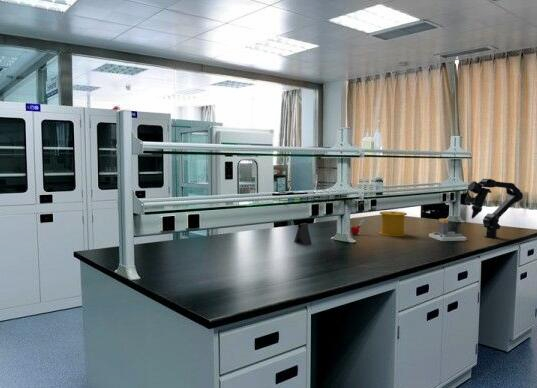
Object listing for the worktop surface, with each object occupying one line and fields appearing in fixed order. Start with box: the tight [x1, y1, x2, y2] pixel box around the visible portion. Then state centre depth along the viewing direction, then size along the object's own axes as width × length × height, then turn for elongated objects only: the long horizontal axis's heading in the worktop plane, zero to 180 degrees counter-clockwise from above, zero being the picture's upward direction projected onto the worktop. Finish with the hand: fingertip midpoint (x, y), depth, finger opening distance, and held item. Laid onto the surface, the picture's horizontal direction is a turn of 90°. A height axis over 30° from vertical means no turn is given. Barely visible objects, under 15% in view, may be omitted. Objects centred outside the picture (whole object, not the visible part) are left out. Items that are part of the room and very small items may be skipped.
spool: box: [378, 210, 408, 237], centre depth 301 cm, size 18×18×15 cm
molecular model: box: [349, 219, 367, 235], centre depth 298 cm, size 18×6×10 cm, turn 126°
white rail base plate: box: [428, 231, 468, 242], centre depth 286 cm, size 17×16×4 cm
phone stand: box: [293, 222, 312, 245], centre depth 268 cm, size 9×6×12 cm, turn 43°
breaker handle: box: [438, 218, 449, 235], centre depth 285 cm, size 4×6×10 cm, turn 9°
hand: (472, 218), depth 286 cm, fingers closed
